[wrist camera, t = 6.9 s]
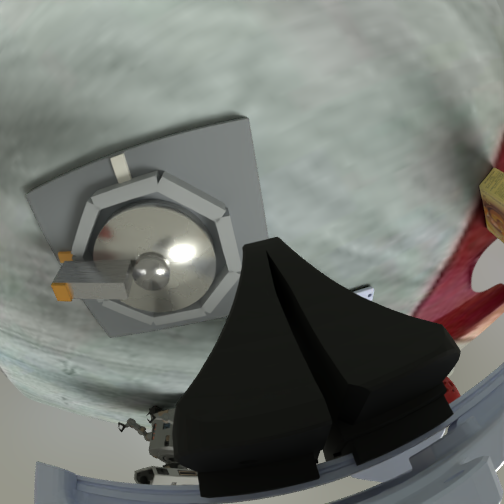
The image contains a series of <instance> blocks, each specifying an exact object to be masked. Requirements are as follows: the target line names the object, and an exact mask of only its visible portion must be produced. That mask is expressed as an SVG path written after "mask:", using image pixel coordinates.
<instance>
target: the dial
mask: <svg viewBox="0 0 504 504" xmlns="http://www.w3.org/2000/svg"><path fill="white" fill-rule="evenodd" d="M215 271H216V259H215V249H214V244H213V240H212V238H211V235H210V233H209V231H208V230H207V228H206V227H205V225H204V224H203V223H202V221H201V220H200V219H199V218H198V217H197V216H195V215H194V214H193V213H191V212H190V211H189V210H187V209H185V208H183V207H181V206H179V205H177V204H174V203H171V202H167V201H162V200H141V201H136V202H132V203H130V204H127V205H125V206H123V207H122V208H120V209H118V210H117V211H116V212H114V213H113V214H112V215H111V216H110V217H109V219H108V220H107V221H106V223H105V224H104V226H103V228H102V229H101V231H100V233H99V235H98V237H97V239H96V241H95V245H94V251H93V260H88V261H64V263H63V265H62V266H61V268H60V270H59V272H58V274H57V275H56V277H55V279H54V281H53V283H52V285H51V286H52V289H53V291H54V293H55V296H56V298H57V300H58V301H72V299H118V300H120V301H122V302H123V303H125V304H127V305H129V306H131V307H134V308H137V309H140V310H144V311H150V312H170V311H175V310H179V309H182V308H185V307H187V306H189V305H191V304H193V303H195V302H196V301H197V300H199V299H200V298H201V297H202V296H203V295H204V294H205V293H206V292H207V291H208V289H209V288H210V286H211V284H212V282H213V279H214V276H215Z"/></svg>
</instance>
